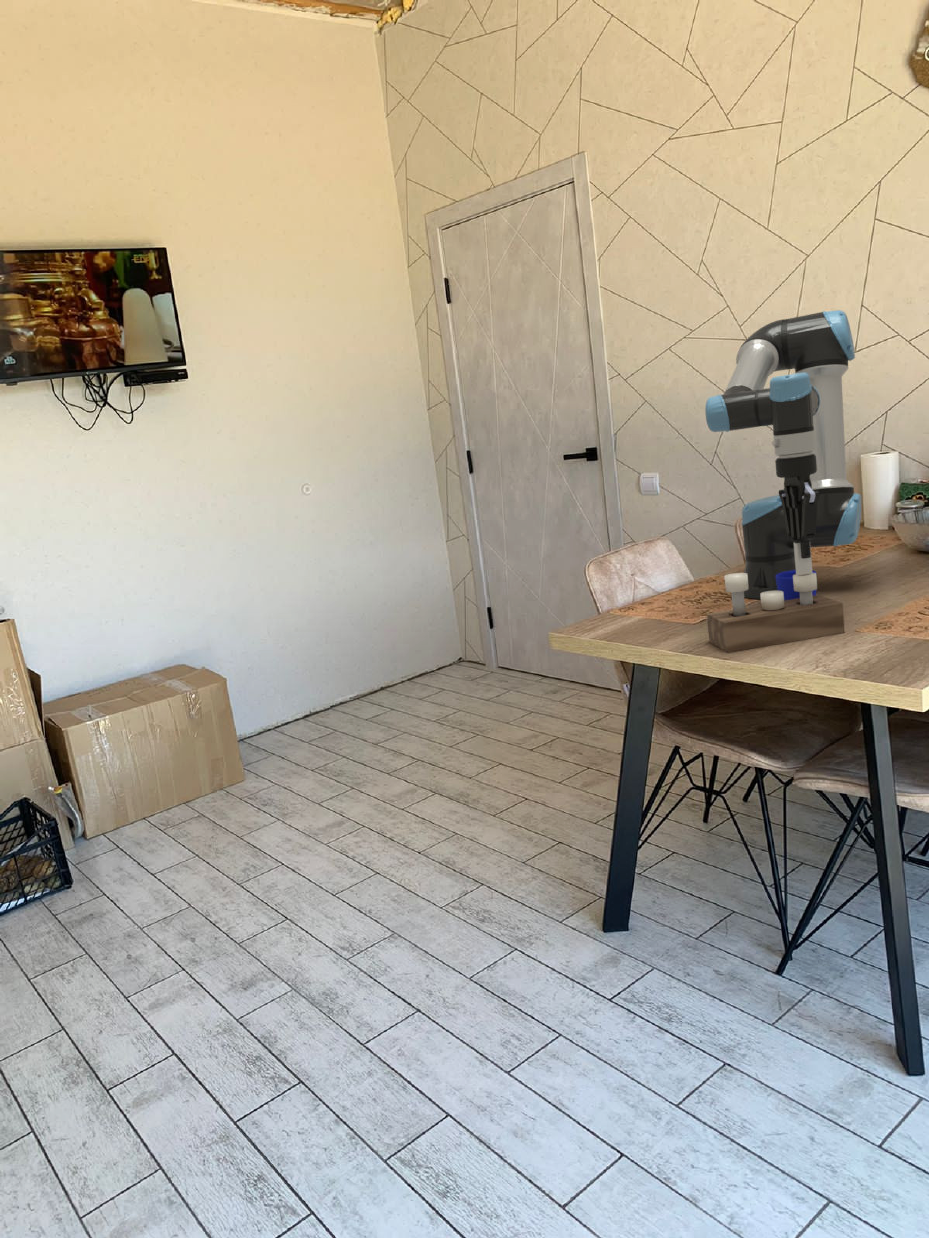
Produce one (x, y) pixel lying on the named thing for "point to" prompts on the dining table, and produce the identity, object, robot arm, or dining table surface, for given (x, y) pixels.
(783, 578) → the mug
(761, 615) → the mount
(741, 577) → the knob
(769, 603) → the knob
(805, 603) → the knob
